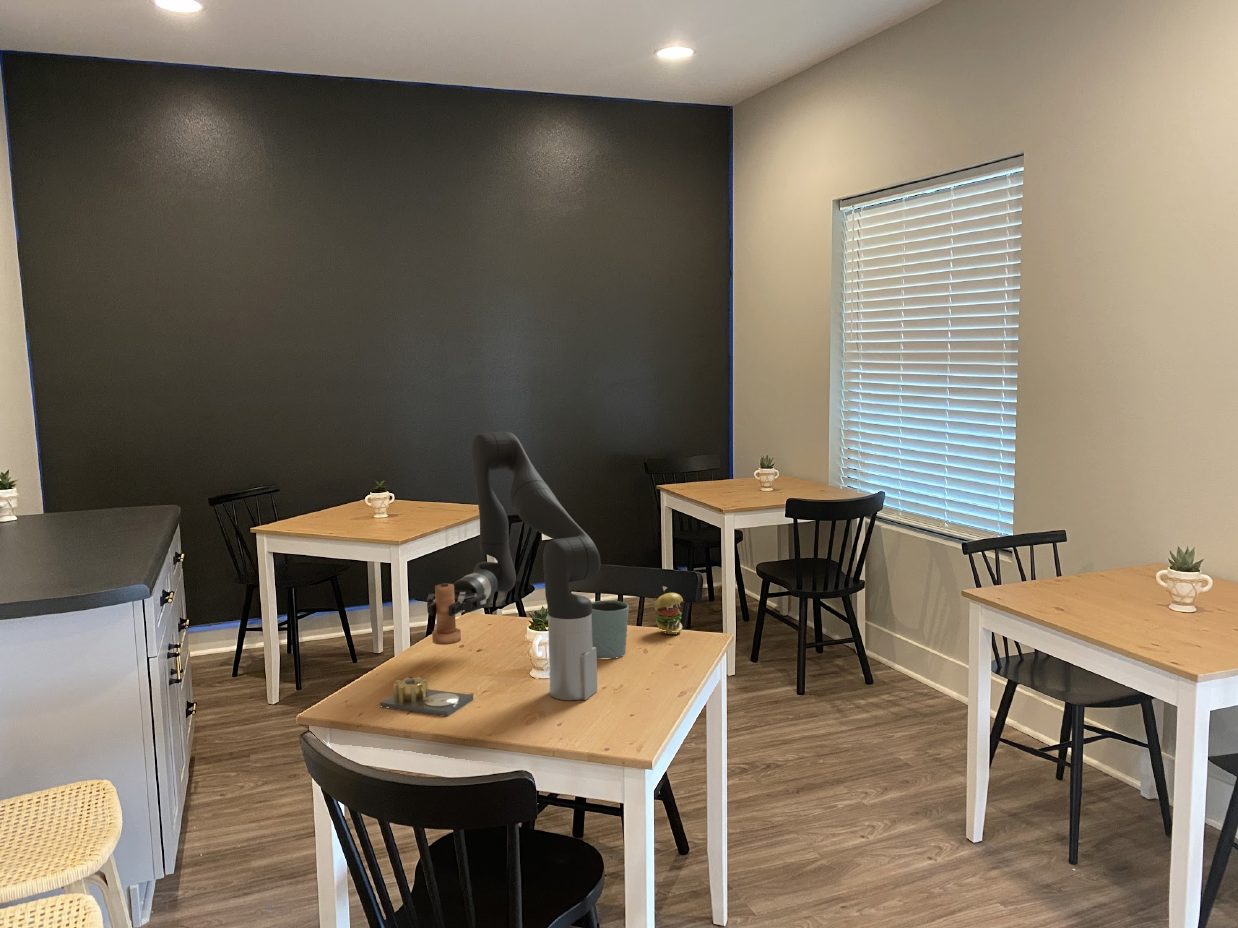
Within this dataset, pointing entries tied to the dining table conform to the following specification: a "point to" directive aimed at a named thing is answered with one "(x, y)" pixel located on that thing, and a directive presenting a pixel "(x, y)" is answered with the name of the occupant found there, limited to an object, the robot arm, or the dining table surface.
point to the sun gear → (410, 689)
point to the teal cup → (609, 628)
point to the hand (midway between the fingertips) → (440, 610)
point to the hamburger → (668, 612)
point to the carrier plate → (432, 703)
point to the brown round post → (445, 616)
